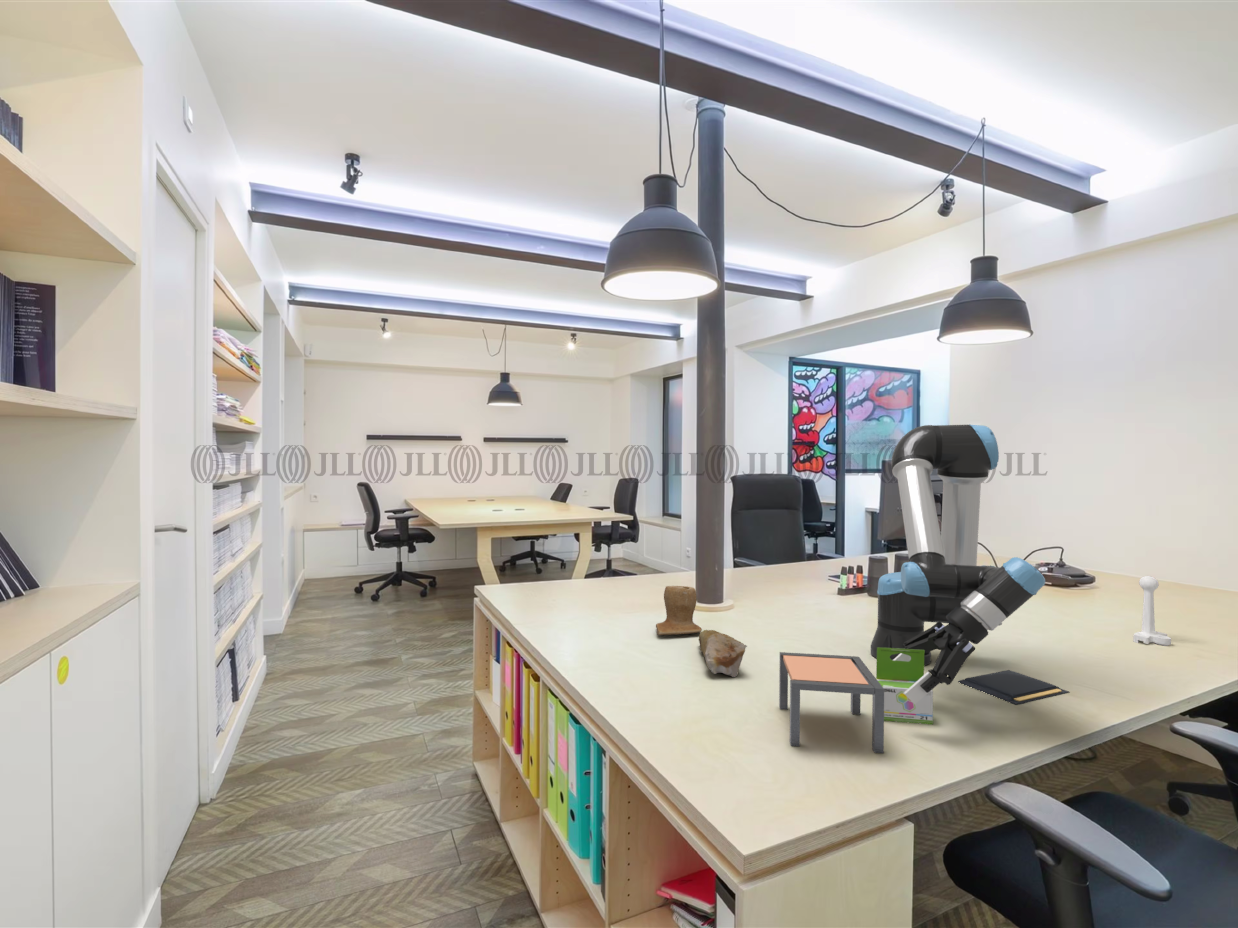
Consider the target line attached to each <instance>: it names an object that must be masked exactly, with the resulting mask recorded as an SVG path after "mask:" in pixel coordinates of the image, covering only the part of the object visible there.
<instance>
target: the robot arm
mask: <svg viewBox="0 0 1238 928" xmlns="http://www.w3.org/2000/svg"><path fill="white" fill-rule="evenodd" d="M999 454H1000V453H999V445H998V441H997V438H996V436H995V434H994V432H993V431H992V429H991V428H990V427H988V426H986V425H982V424H970V423H969V424H948V425H947V424H945V425H943V424H941V425H939V424H937V425H935V424H934V425H932V424H925V425H921V426H917V427H915V428H912V429H911V430H909V431H908V432H907V433H905V434H904V436H902V437H901V438H900V440H898V443H897V444H896V446H895V447H894V449H893V452H892V455H891V461H890V462H891V464H890V466H891V471H892V472H891V473H892V475H893V477H894V478H896V479H897V485H898V492H899V499H900V504H901V505H900V506H901V514H902V520H903V521H902V522H903V527H904V534H905V541H906V546H907V547H906V549H907V555H908V556H907V557H908V562H907V561H906V562H903V563H902V565H901V569H900V571H898V572H897V571H896V572H895V571H894V572H890V573H885V574H883V575H882V576H881V575H880V577H879V579H878V583H877V591H876V594H877V627H876V630H875V633H874V635H873V638H872V641H871V644H870V655H871V656H872V657H874V658H875V659H877V647H880V648H900V649H917V650H925V653H924V666H926V665H929V664H931V663H932V653H931V652H933V651H935V650H938V651H939V654H938V656H937V659H936V661H935V664H934V665H933V668H932V669H928V671H926V672H925V673H924V675H923V676H922V677H921V678H920V679H919V680H918V681H917V682H915V683H914V684H913V685H912V686H911V687H910V688H909V689H907V690H906V691H905V692H904V694H905V695H906V696H907V697H908V698H909V699H910V700H911V701H912V702H913V703H914V704H916V703H917V702H918V701H920V700H921V699H922V698H923V697H924V696H925V695H926V694H928V693H929V692H930V691H931V690H933V689H934V688H936V687H937V686H938V685H939V684H940V685H941V684H945V685H946V686H949V685H951V684H952V682H953V681H954V679H955V677H956V676H957V675H958V674H959V671H960V670H961V668H962V667H963V666H964V664H965V662H966V661H967V660H968V658H969V656H971V654H973V652H974V651H975V650H976V647H975V646H974V645H978V644H979V643H981V642H982V641H983V640H984V639H985V638H986V637H987V636H989V631H994V630H995V629H996V628H997V627H999V626H1002V625H1003V622H1005V620H1007V619H1008V618H1009V617H1010V616H1011V615H1013V613H1014V612H1016V611H1017V610H1018V609H1020V608H1021V607H1022V606H1023V605H1024V604H1025V603H1026V602H1027V601H1029V600H1030V599H1031V598H1032V597H1033V596H1036V595H1037V593H1038V592H1039V591H1040V590H1041V589H1042V588H1043V587H1044V586H1045V585H1046V578H1045V577H1044V575H1043V574H1042V573H1041V571H1039V570H1038V569H1037V568H1036V566H1033V565H1032V564H1031V563H1029V562H1028V561H1027V560H1025V559H1023V558H1021V557H1018V556H1014V557H1012V558H1010V559H1009V560H1007V561H1006V562H1003V564H1002V566H1001V567H999V566H998V567H997V566H995V565H977V563H978V561H977V560H978V545H979V544H978V541H979V526H980V525H979V524H980V523H979V521H980V509H981V508H980V507H981V506H980V504H981V484H982V483H983V482H984V481H985V480H987V479H988V478H989V471H993V470H995V469H996V468H997V467H998V463H999V457H1000V456H999ZM934 470H937V473H936V475H937V477H939V478H940V479H941V481H942V483H943V484H942V486H943V487H942V502H941V503H942V504H941V505H942V506H941V524H940V523H939V518H938V514H937V513H938V512H937V507H936V506H937V505H936V501H935V496H934V490H933V484H932V479H931V475H932V473H933V471H934ZM940 525H941V526H940ZM940 527H941V528H940ZM925 623H935V624H933V626H931V627H929V628H928V629H926V630H925ZM944 624H946V625H944ZM890 659H891V660H896V661H910V660H911V657H910V656H909V655H906V654H902V653H898V654H892V655H891V656H890Z"/></svg>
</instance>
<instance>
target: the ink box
mask: <svg viewBox="0 0 1238 928" xmlns="http://www.w3.org/2000/svg"><path fill="white" fill-rule="evenodd" d="M898 653H902V654H906V655H909V656H910V657H911V660H910V661H896V660H891V659H890V656H891V655H892V654H898ZM924 653H925V650H917V649H900V648H880V647H877V658H876V663H875V664H876V671H875V672H876V673H875V675H876V676H875V678H876V679H877V681H878V682H879V683H880V684H881V686H882V687H883V688H884V722H885V721H887V722H895V721H897V723H907V722H909V723H908V724H919V723H921V724H922V725H933V724H934V691H933V689H932V690H931V691H930V692H929V693H928V694H926V695H925V696H924V697H923V698H922V699H921V700H920V701H918V702H917V703H916V704H914V703H913V702H912V701H911V700H910V699H909V698H908V697H907V696H906V695H905V694H904V692H905V691H906V690H907V689H909V688H910V687H911V686H912V685H913V684H914V683H915V682H917V681H918V680H919V679H920V678H921V677H922V676H923V675H925V665H924Z"/></svg>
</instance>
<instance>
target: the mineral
mask: <svg viewBox="0 0 1238 928" xmlns="http://www.w3.org/2000/svg"><path fill="white" fill-rule="evenodd" d="M698 642H699V647H700V651H701V653H702V654H703V657H704V658H705V664H706V666H707V668H708V669H709V670H710V672H711V673H712V674H713V675H716V674H718V673H722V674H724V675H726V676H730V677H732V678H735V677H737V676H738V674H739V671H740V670H739V669H740V667H741V663H742V661H743V658H744V655H745V652H746V649H747V647H748V645H746V644H744V643H743V642H741V641H739V640H737V639H735V638H734V637H732V636H730V635H728V634H726V633H722V632H720V631H717V630H714V629H711V630H709V629H704V630H702V631H701V632H699V635H698Z"/></svg>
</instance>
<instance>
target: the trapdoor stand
mask: <svg viewBox="0 0 1238 928" xmlns="http://www.w3.org/2000/svg"><path fill="white" fill-rule="evenodd" d="M783 655H787V656H804V657H822V658H839V659H851V661H852V662H853V663H854V665H855V666H856V667H857V669H858V670H859V672H860V673H861V674H862V676H863V677H864V678H865V680H866V681H867V682H868V684H869V685H862V684H847V683H831V682H815V681H799V680H791V679H790V681H789V674H788V671H787V669H786V666H785V663H784V661H783ZM778 670H779V673H778V674H779V677H778V678H779V681H778V683H779V686H778V689H779V691H778V698H779V699H778V706H779V710H785V711H788V708H789V744H790V746H791V747H800V740H801V739H800V735H801V734H800V732H801V725H800V724H801V691H811V692H812V691H813V692H824V693H825V692H827V693H838V694H839V693H842V694H850V713H851V712H852V713H851V714H852V715H854V714H856V715H855V716H860V715H861V695H872V705H871V706H872V713H871V714H872V716H871V717H872V718H871V719H872V722H871V723H872V726H871V727H872V729H871V730H872V731H871V735H872V736H871V738H872V739H871V749H872V751H873V752H874V753H876V754H884V747H885V746H884V745H885V743H884V742H885V734H884V733H885V721H884V688H883V687H882V686H881V684H880V683H879V682H878V681H877V679H876V676H875V675H874V674H873V672H872V671H871V670H870V669H869V668H868V667H867V665H866V664H865V663H864V661H863V660H862V659H861V658H860V657H859V656H854V655H853V656H852V655H837V654H836V655H835V654H819V653H818V654H817V653H815V654H814V653H801V652H785V651H784V652H781V651H779V669H778ZM789 683H790V684H789ZM789 686H790V687H789ZM788 689H789V690H788ZM789 693H790V694H789ZM788 698H789V699H788ZM788 701H789V702H788ZM788 703H789V704H788ZM788 705H789V707H788Z"/></svg>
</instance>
